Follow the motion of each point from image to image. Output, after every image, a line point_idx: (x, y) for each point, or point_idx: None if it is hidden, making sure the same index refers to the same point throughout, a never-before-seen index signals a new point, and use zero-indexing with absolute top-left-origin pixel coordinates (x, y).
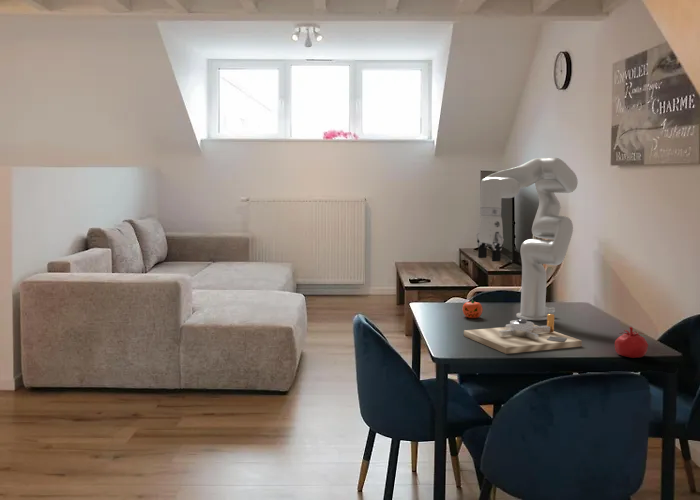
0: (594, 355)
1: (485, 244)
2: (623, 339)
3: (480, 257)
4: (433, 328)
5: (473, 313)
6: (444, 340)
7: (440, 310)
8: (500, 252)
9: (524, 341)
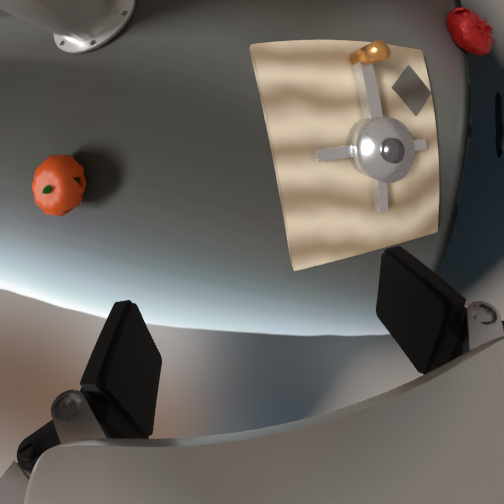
0: (459, 82)
1: (108, 432)
2: (487, 50)
3: (157, 352)
4: (202, 310)
5: (85, 186)
6: (319, 310)
7: (11, 243)
8: (448, 286)
9: (416, 172)
